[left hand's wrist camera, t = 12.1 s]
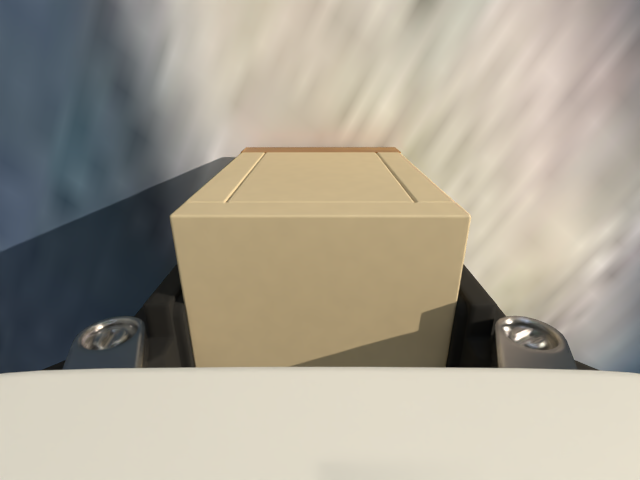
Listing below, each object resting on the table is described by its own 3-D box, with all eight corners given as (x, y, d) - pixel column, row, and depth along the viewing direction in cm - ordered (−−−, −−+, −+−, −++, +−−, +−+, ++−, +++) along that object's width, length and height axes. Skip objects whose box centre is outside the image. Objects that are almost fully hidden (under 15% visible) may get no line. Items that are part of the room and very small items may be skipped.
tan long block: (367, 508, 23) (389, 709, 15) (274, 508, 23) (251, 709, 15) (395, 147, 14) (473, 214, 7) (246, 147, 14) (167, 214, 7)
